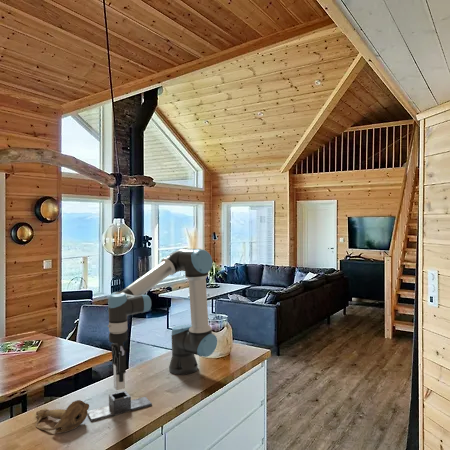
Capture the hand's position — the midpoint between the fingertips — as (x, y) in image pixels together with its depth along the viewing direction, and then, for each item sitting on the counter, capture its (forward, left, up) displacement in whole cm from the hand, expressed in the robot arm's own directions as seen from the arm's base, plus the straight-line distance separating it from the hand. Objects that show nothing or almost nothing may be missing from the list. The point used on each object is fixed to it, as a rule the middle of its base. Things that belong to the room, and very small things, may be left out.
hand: (119, 387), depth 170 cm
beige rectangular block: (0, 0, 0) cm, 0 cm away
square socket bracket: (0, 0, -10) cm, 10 cm away
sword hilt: (+25, -3, -10) cm, 27 cm away
